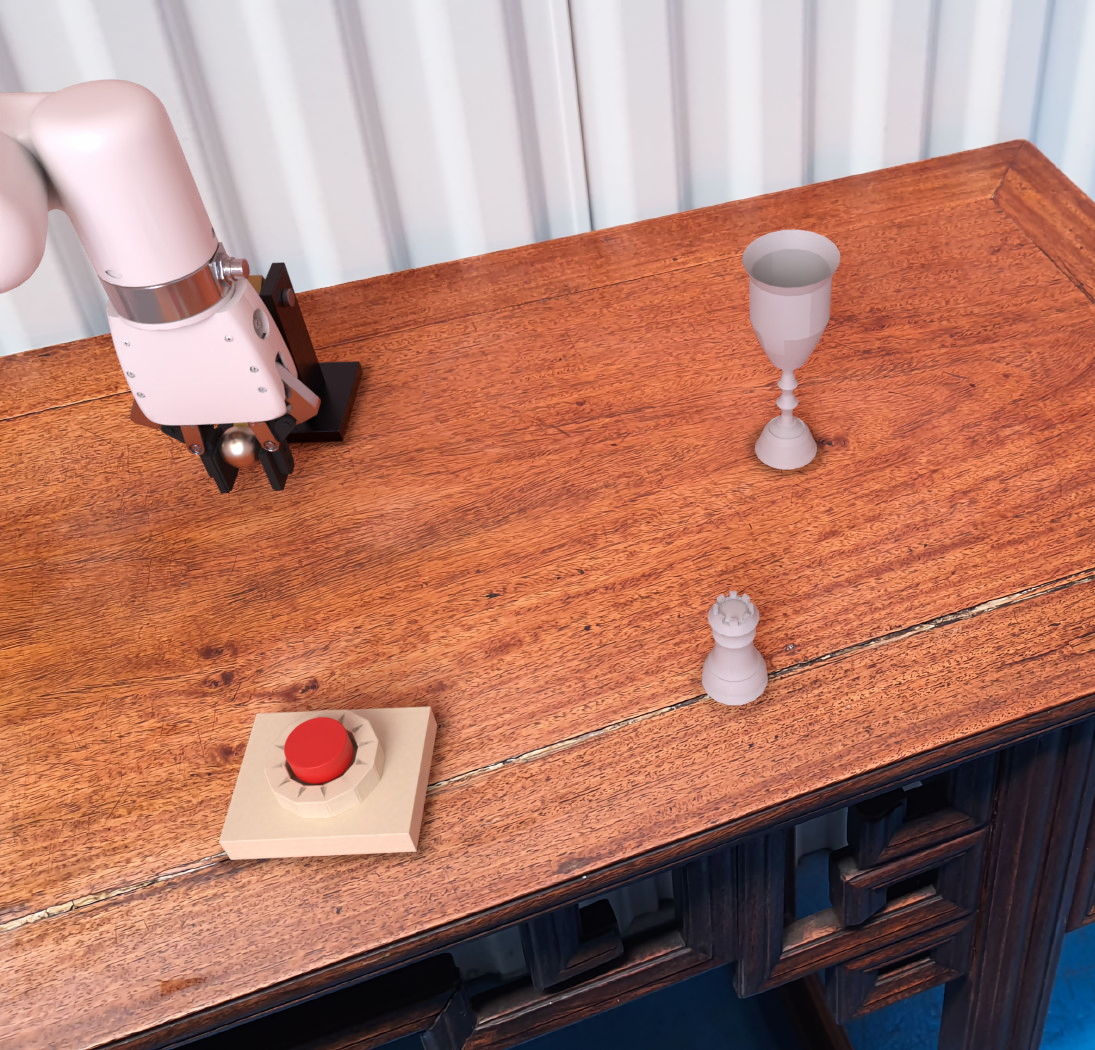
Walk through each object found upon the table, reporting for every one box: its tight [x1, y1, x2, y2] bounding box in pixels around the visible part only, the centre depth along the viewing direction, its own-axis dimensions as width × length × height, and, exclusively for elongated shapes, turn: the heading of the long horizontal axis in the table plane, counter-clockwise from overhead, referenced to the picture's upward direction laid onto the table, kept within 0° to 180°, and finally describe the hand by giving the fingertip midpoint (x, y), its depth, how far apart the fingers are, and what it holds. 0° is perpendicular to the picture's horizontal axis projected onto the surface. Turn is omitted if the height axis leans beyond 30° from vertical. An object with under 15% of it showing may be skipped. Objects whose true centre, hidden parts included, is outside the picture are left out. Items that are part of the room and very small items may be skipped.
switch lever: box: [218, 274, 266, 469], centre depth 88 cm, size 15×3×3 cm, turn 2°
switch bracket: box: [216, 262, 364, 444], centre depth 93 cm, size 9×10×13 cm
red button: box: [284, 717, 354, 784], centre depth 69 cm, size 4×4×2 cm
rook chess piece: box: [701, 590, 769, 706], centre depth 75 cm, size 4×4×8 cm
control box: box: [218, 706, 438, 861], centre depth 71 cm, size 11×9×4 cm
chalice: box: [741, 229, 841, 471], centre depth 88 cm, size 7×7×18 cm
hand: (256, 477), depth 89 cm, fingers closed on switch lever, 3 cm apart
